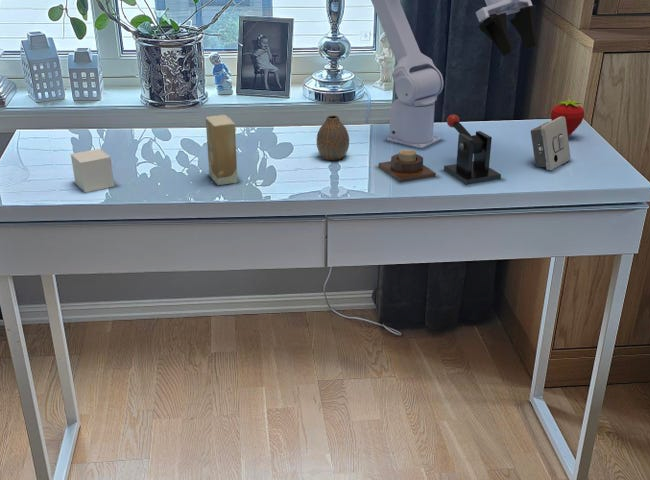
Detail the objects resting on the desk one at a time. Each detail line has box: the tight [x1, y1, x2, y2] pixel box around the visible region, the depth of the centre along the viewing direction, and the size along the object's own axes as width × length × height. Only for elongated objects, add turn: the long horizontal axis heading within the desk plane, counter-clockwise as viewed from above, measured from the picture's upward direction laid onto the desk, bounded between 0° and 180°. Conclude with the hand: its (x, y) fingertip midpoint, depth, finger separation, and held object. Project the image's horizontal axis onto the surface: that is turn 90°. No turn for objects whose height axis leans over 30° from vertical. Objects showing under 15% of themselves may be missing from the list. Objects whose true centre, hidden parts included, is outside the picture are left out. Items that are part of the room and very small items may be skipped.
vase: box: [316, 114, 350, 161], centre depth 190 cm, size 7×7×9 cm
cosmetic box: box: [205, 114, 239, 186], centre depth 178 cm, size 6×4×12 cm
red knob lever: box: [446, 114, 484, 155], centre depth 182 cm, size 12×3×3 cm, turn 24°
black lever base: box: [443, 130, 502, 186], centre depth 181 cm, size 9×8×8 cm
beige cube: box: [70, 148, 115, 193], centre depth 177 cm, size 6×6×6 cm
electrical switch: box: [530, 117, 571, 171], centre depth 187 cm, size 9×5×9 cm, turn 141°
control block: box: [378, 153, 437, 183], centre depth 184 cm, size 10×8×3 cm
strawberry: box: [549, 92, 585, 138], centre depth 201 cm, size 6×8×10 cm
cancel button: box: [397, 148, 417, 162], centre depth 183 cm, size 4×4×2 cm
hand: (520, 50), depth 173 cm, fingers open, 7 cm apart
